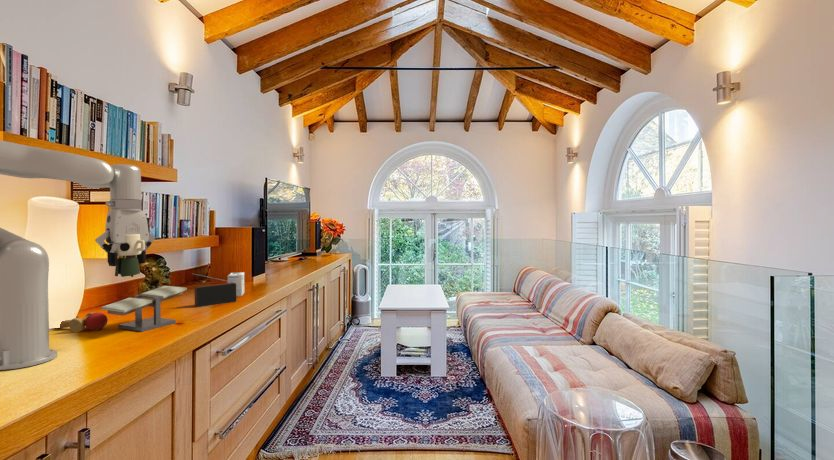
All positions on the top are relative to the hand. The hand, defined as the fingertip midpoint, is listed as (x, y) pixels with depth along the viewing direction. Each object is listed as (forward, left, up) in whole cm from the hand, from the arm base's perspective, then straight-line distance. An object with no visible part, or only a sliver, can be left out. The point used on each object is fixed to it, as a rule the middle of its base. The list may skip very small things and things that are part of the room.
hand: (127, 264), depth 118 cm
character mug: (0, 0, -4) cm, 4 cm away
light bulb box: (+71, +32, -24) cm, 82 cm away
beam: (+15, +14, -17) cm, 26 cm away
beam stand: (+15, +14, -24) cm, 31 cm away
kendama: (+3, +31, -24) cm, 39 cm away
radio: (+50, +23, -24) cm, 60 cm away
